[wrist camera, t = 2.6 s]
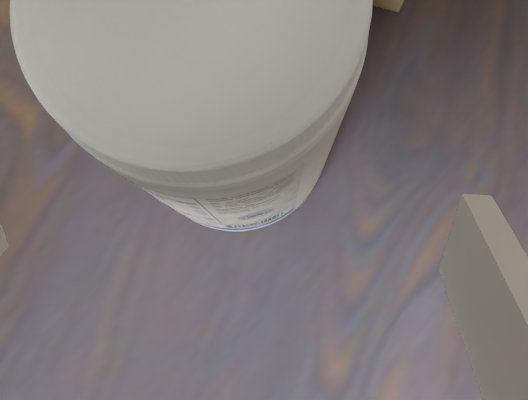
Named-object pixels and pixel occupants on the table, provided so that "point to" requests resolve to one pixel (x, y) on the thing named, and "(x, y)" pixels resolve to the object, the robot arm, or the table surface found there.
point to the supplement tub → (200, 93)
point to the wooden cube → (389, 4)
